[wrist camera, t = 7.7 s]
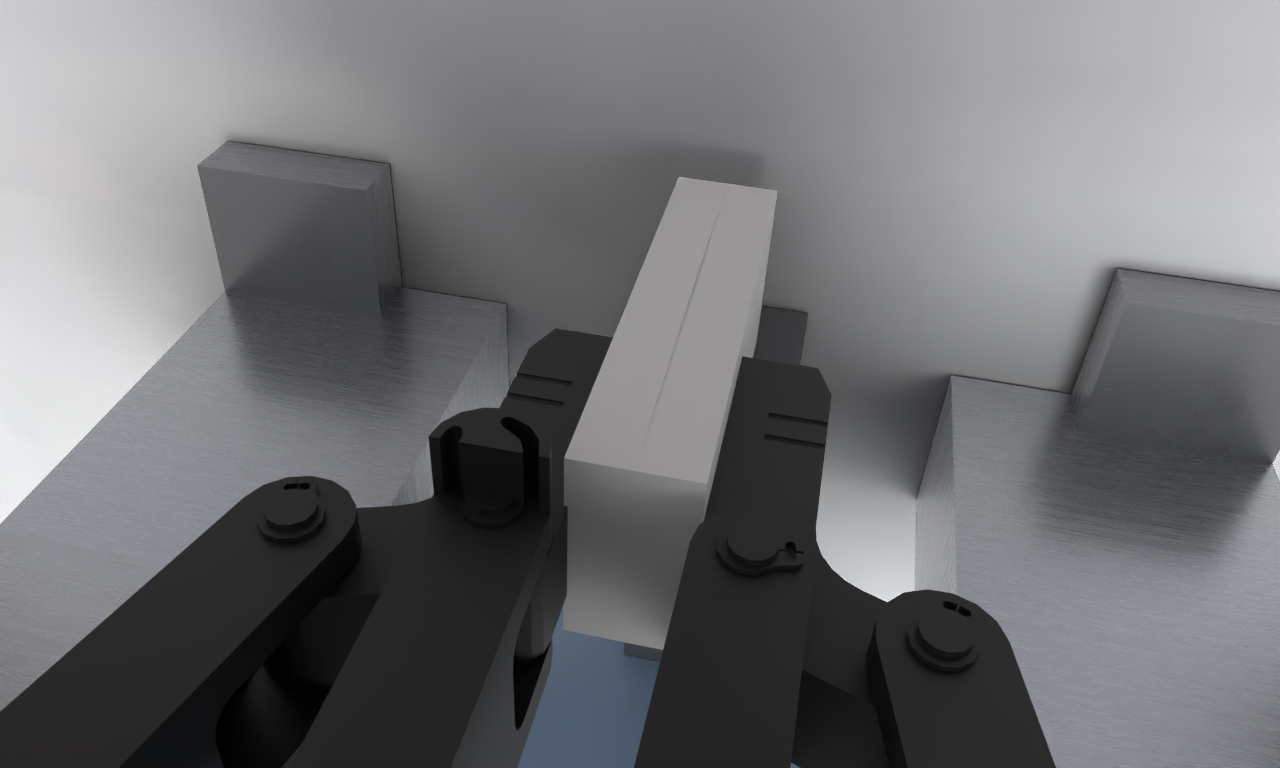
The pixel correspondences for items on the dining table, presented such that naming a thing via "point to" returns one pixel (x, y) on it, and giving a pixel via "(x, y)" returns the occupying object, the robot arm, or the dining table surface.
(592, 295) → the dining table surface
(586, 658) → the plug
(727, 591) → the robot arm
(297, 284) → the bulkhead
